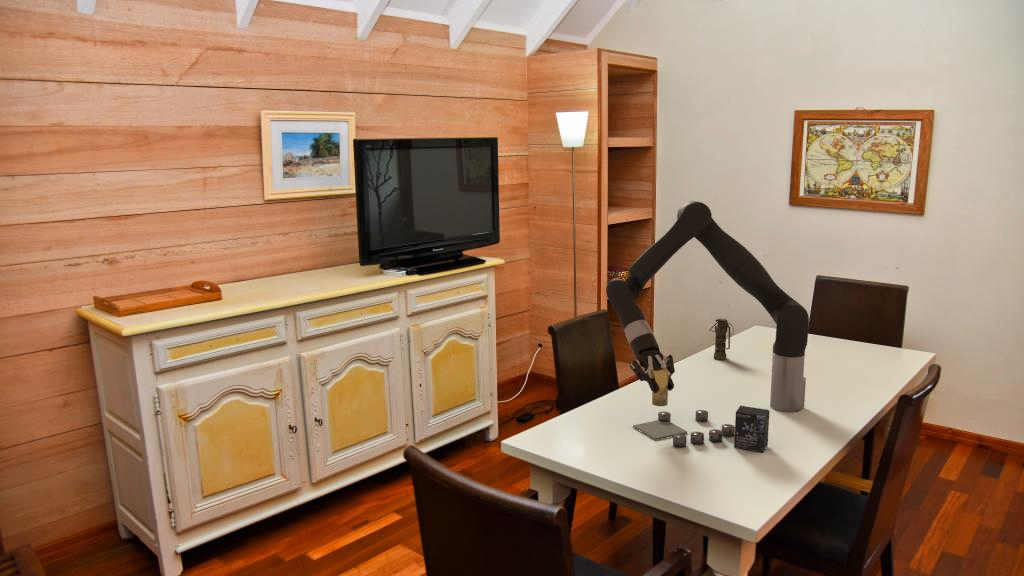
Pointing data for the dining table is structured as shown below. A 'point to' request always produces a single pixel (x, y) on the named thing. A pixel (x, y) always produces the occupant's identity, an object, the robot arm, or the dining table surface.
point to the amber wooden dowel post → (660, 387)
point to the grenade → (721, 339)
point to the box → (751, 428)
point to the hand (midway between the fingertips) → (664, 390)
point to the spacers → (698, 437)
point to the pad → (660, 429)
